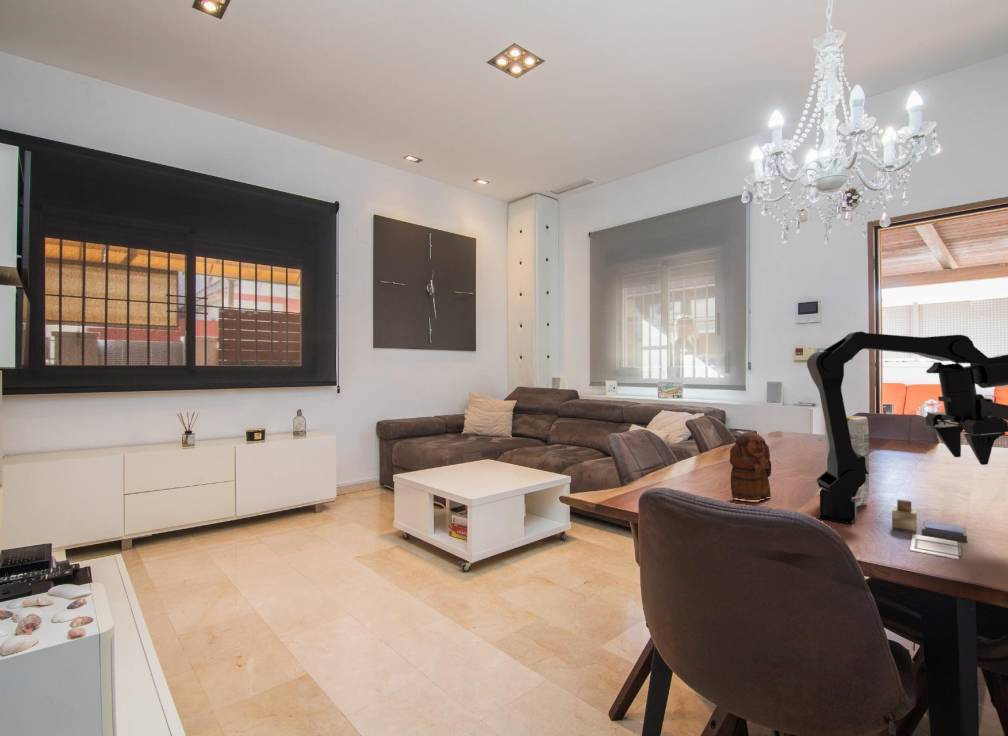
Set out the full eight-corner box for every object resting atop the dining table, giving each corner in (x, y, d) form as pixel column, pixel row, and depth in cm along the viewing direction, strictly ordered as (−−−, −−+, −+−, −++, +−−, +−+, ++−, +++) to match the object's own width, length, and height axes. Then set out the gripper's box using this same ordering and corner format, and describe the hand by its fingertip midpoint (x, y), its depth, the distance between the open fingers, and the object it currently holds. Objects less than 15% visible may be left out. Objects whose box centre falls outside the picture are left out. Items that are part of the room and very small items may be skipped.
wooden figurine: (749, 504, 130) (748, 435, 130) (727, 499, 135) (727, 432, 135) (776, 498, 135) (776, 432, 135) (754, 493, 141) (754, 430, 141)
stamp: (892, 530, 109) (892, 501, 109) (893, 526, 112) (893, 497, 112) (915, 534, 107) (915, 504, 107) (916, 529, 110) (916, 500, 110)
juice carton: (839, 497, 136) (839, 409, 136) (872, 504, 129) (872, 412, 129) (821, 502, 132) (820, 411, 132) (854, 509, 125) (854, 413, 125)
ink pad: (922, 534, 106) (922, 526, 106) (922, 526, 112) (922, 519, 112) (966, 541, 102) (966, 534, 102) (965, 533, 107) (965, 525, 107)
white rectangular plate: (910, 550, 97) (910, 549, 97) (912, 534, 106) (912, 533, 106) (961, 560, 92) (961, 558, 92) (959, 542, 101) (959, 541, 101)
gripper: (1035, 388, 100) (1048, 465, 100) (974, 384, 118) (985, 450, 118) (968, 395, 103) (981, 470, 103) (919, 390, 121) (930, 454, 121)
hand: (970, 460), depth 111 cm, fingers open, 9 cm apart
